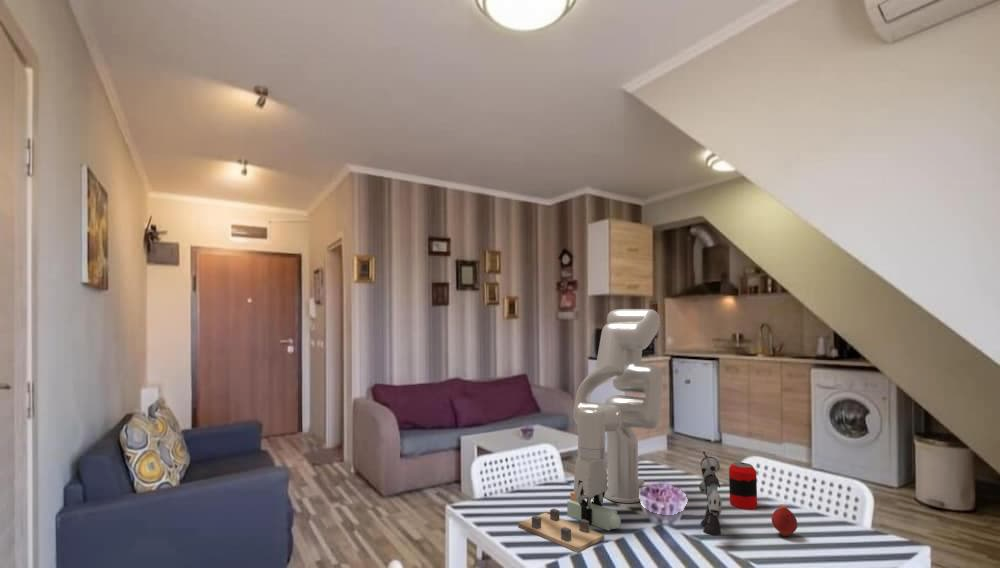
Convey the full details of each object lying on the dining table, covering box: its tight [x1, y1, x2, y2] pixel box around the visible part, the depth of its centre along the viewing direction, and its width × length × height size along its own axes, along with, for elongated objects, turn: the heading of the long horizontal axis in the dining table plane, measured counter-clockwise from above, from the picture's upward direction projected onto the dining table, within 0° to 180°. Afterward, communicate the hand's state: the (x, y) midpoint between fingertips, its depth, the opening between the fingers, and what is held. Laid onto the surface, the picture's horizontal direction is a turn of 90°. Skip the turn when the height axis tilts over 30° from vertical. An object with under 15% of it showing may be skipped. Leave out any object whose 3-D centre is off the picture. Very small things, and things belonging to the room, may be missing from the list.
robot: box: [698, 451, 723, 536], centre depth 136 cm, size 20×5×20 cm, turn 166°
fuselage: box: [566, 491, 622, 531], centre depth 139 cm, size 4×16×6 cm, turn 44°
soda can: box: [728, 461, 758, 510], centre depth 153 cm, size 8×8×12 cm
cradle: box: [517, 508, 605, 553], centre depth 132 cm, size 11×20×4 cm, turn 44°
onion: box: [771, 503, 798, 537], centre depth 131 cm, size 6×6×8 cm
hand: (591, 519), depth 139 cm, fingers closed on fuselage, 4 cm apart
